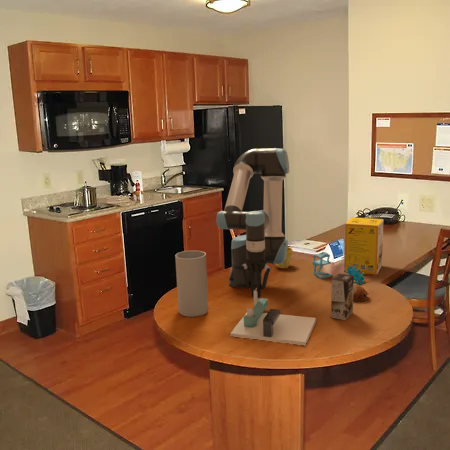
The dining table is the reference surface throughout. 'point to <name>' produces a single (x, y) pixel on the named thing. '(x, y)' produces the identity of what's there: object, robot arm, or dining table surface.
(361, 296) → the bread roll
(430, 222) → the dining table surface
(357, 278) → the gear
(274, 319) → the bar
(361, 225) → the packaging box
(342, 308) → the coffee box
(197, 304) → the cylinder vase
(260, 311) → the latch bar
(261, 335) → the base plate
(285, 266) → the plant pot
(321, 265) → the chair
